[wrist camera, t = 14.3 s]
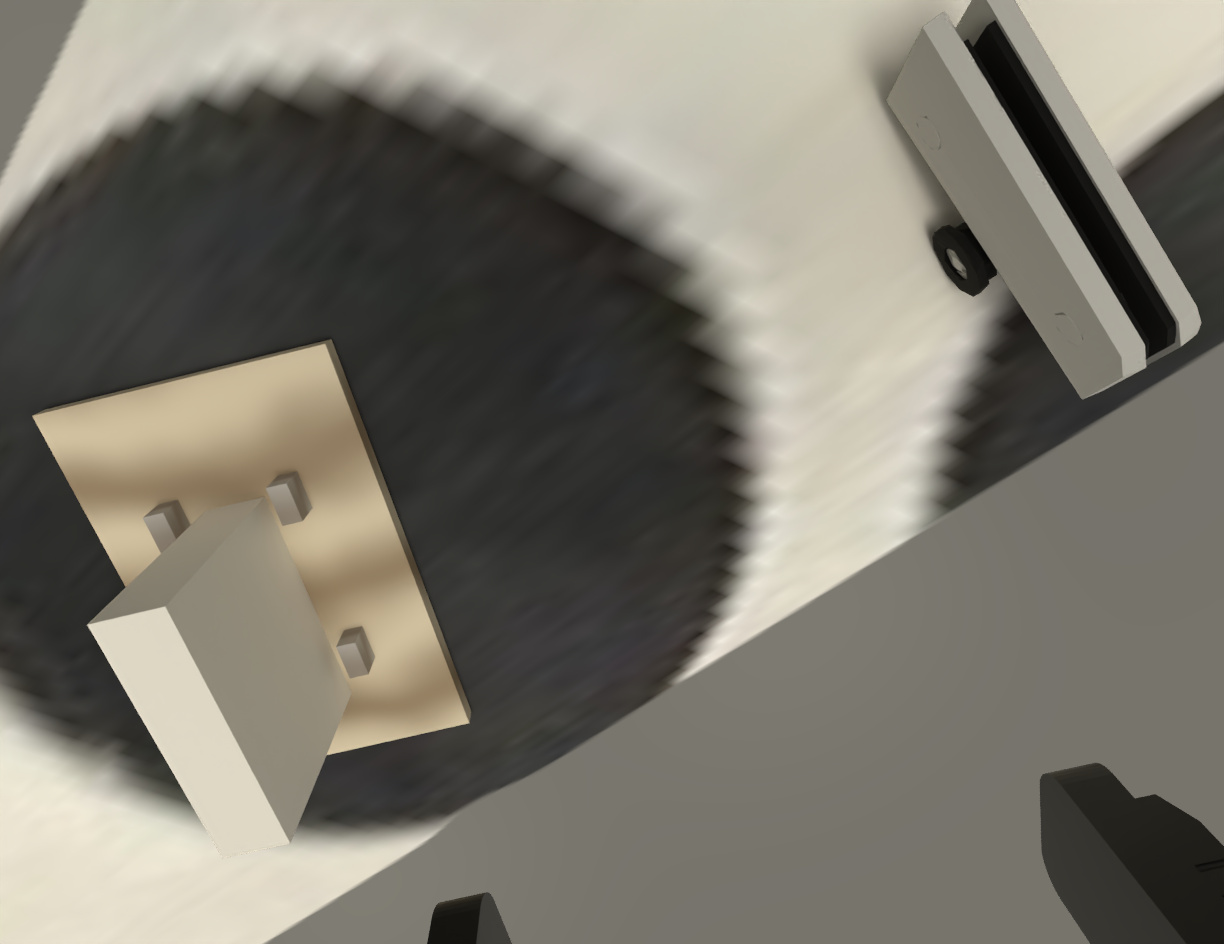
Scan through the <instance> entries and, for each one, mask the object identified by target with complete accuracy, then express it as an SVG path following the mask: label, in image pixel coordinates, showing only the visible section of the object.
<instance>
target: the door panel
mask: <svg viewBox="0 0 1224 944" xmlns="http://www.w3.org/2000/svg"><path fill="white" fill-rule="evenodd" d="M87 625H88V627H89V629H90V630H91V632H92V634H93V635H94V637H95V639H96V641H97V642H98V644H99V646H100V648H101V649H102V651H103V653H104V654H105V656H106V658H107V660H108V661H109V663H110V665H111V667H112V668H113V670H114V672H115V673H116V675H117V677H118V679H119V680H120V682H121V684H122V686H123V687H124V689H125V691H126V692H127V694H128V696H129V698H130V699H131V701H132V703H133V705H134V706H135V708H136V710H137V711H138V713H139V715H140V717H141V718H142V720H143V722H144V724H145V725H146V727H147V729H148V730H149V732H150V734H151V736H152V737H153V739H154V741H155V743H156V744H157V746H158V748H159V749H160V751H161V753H162V755H163V756H164V758H165V760H166V762H167V763H168V765H169V767H170V768H171V770H172V772H173V774H174V775H175V777H176V779H177V781H178V782H179V784H180V786H181V787H182V789H183V791H184V793H185V794H186V796H187V798H188V800H189V801H190V803H191V805H192V806H193V808H194V810H195V812H196V813H197V815H198V817H199V819H200V820H201V822H202V824H203V825H204V827H205V829H206V831H207V832H208V834H209V836H210V837H211V839H212V841H213V843H214V844H215V846H216V848H217V850H218V851H219V853H220V855H221V856H222V858H227V857H231V856H236V855H240V854H245V853H249V852H254V851H258V850H263V849H268V848H272V847H277V846H281V845H286V844H290V843H291V841H292V838H293V836H294V833H295V831H296V828H297V826H298V823H299V821H300V819H301V816H302V814H303V811H304V809H305V806H306V804H307V801H308V799H309V797H310V794H311V792H312V789H313V787H314V784H315V782H316V779H317V777H318V774H319V772H320V770H321V767H322V765H323V762H324V760H325V757H326V755H327V752H328V750H329V748H330V745H331V743H332V740H333V738H334V735H335V733H336V730H337V728H338V726H339V723H340V721H341V718H342V716H343V713H344V711H345V708H346V706H347V703H348V701H349V699H350V696H351V694H352V692H351V690H350V688H349V685H348V683H347V681H346V679H345V676H344V674H343V672H342V670H341V667H340V665H339V663H338V661H337V658H336V656H335V654H334V652H333V649H332V647H331V645H330V642H329V640H328V638H327V636H326V633H325V631H324V629H323V627H322V624H321V622H320V620H319V618H318V615H317V613H316V611H315V609H314V606H313V604H312V602H311V599H310V597H309V595H308V593H307V590H306V588H305V586H304V584H303V581H302V579H301V577H300V575H299V572H298V570H297V568H296V566H295V563H294V561H293V559H292V556H291V554H290V552H289V550H288V547H287V545H286V543H285V541H284V538H283V536H282V534H281V532H280V529H279V527H278V525H277V523H276V520H275V518H274V516H273V513H272V511H271V509H270V507H269V504H268V502H267V500H266V498H265V497H261V498H257V499H253V500H249V501H245V502H240V503H236V504H232V505H228V506H223V507H219V508H215V509H211V510H207V511H205V512H204V513H203V514H202V515H201V516H200V517H199V518H198V519H197V520H196V521H195V522H194V523H193V524H192V525H191V526H190V527H188V528H187V529H186V530H185V531H184V532H183V533H182V534H181V535H180V536H179V537H178V538H177V539H176V540H175V541H174V542H173V543H172V544H171V545H170V546H169V547H168V548H167V549H166V550H165V551H163V552H162V553H161V554H160V555H159V556H158V557H157V558H156V559H155V560H154V561H153V562H152V563H151V564H150V565H149V566H148V567H147V568H146V569H145V570H144V571H143V572H142V573H141V574H140V575H138V576H137V577H136V578H135V579H134V580H133V581H132V582H131V583H130V584H129V585H128V586H127V587H126V588H125V589H124V590H123V591H122V592H121V593H120V594H119V595H118V596H117V597H116V598H115V599H114V600H112V601H111V602H110V603H109V604H108V605H107V606H106V607H105V608H104V609H103V610H102V611H101V612H100V613H99V614H98V615H97V616H96V617H95V618H94V619H93V620H92V621H91V622H90V623H89V624H87Z"/></svg>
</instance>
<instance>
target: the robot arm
mask: <svg viewBox="0 0 1224 944" xmlns="http://www.w3.org/2000/svg"><path fill="white" fill-rule="evenodd" d="M1040 807H1041V843H1042V855H1043V859H1044V863H1045V866H1046V869H1047V872H1048V875H1049V877H1050V880H1051V882H1052V884H1053V886H1054V888H1055V890H1056V892H1057V894H1058V895H1059V897H1060V899H1061V900H1062V902H1063V903H1064V905H1065V906H1066V908H1067V909H1068V911H1069V912H1070V914H1071V915H1072V917H1073V918H1074V920H1075V921H1076V923H1077V924H1078V926H1079V927H1080V929H1081V930H1082V932H1083V933H1084V934H1085V936H1086V938H1087V939H1088V941H1089V942H1090V944H1224V846H1223V845H1222V844H1221V843H1220V842H1219V841H1218V840H1217V839H1216V838H1215V837H1214V836H1213V835H1212V834H1211V833H1210V832H1209V831H1208V829H1207V828H1205V826H1204V825H1203V824H1202V823H1201V822H1200V821H1198V820H1197V819H1195V818H1193V817H1192V816H1190V815H1189V814H1187V813H1185V812H1184V811H1182V810H1180V809H1179V808H1177V807H1175V806H1174V805H1172V804H1170V803H1169V802H1167V801H1165V800H1164V799H1162V798H1161V797H1159V796H1157V795H1150V796H1145V797H1140V798H1136V799H1135V798H1134V797H1133V796H1132V795H1131V794H1130V793H1129V792H1128V790H1126V788H1125V787H1124V786H1123V785H1122V784H1121V783H1120V781H1119V780H1118V779H1117V778H1116V777H1115V776H1114V775H1113V774H1112V773H1111V772H1110V771H1109V770H1108V769H1107V768H1106V767H1105V766H1103V765H1101V764H1099V763H1093V764H1088V765H1083V766H1079V767H1074V768H1069V769H1064V770H1060V771H1055V772H1051V773H1046V774H1043V775H1042V776H1041V779H1040ZM427 944H512V943H511V941H510V938H509V936H508V933H507V931H506V928H505V926H504V924H503V921H502V919H501V916H500V914H499V911H498V909H497V906H496V904H495V901H494V899H493V897H492V896H491V894H490V893H487V892H486V893H482V894H477V895H473V896H468V897H464V898H459V899H454V900H449V901H445V902H440V903H438V904H437V905H436V907H435V909H434V912H433V915H432V920H431V926H430V931H429V937H428V942H427Z"/></svg>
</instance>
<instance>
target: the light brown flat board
mask: <svg viewBox="0 0 1224 944" xmlns="http://www.w3.org/2000/svg"><path fill="white" fill-rule="evenodd" d="M33 418H34V420H35V422H36V424H37V426H38V427H39V429H40V431H41V433H42V435H43V437H44V438H45V440H46V442H47V444H48V446H49V447H50V449H51V451H52V453H53V455H54V457H55V458H56V460H57V462H58V464H59V466H60V468H61V469H62V471H63V473H64V475H65V477H66V479H67V480H68V482H69V484H70V486H71V488H72V490H73V491H74V493H75V495H76V497H77V499H78V500H79V502H80V504H81V506H82V508H83V510H84V511H85V513H86V515H87V517H88V519H89V521H90V522H91V524H92V526H93V528H94V530H95V532H96V533H97V535H98V537H99V539H100V541H101V543H102V544H103V546H104V548H105V550H106V552H107V553H108V555H109V557H110V559H111V561H112V563H113V564H114V566H115V568H116V570H117V572H118V574H119V575H120V577H121V579H122V581H123V583H124V585H125V586H126V587H127V586H128V585H129V584H130V583H131V582H132V581H133V580H134V579H135V578H136V577H137V576H138V575H140V574H141V573H142V572H143V571H144V570H145V569H146V568H147V567H148V566H149V565H150V564H151V563H152V562H153V561H154V560H155V559H156V558H157V557H158V556H159V555H160V554H161V553H162V552H163V551H165V550H166V549H167V548H168V547H169V546H170V545H171V544H172V543H173V542H174V541H175V540H176V539H177V538H178V537H179V536H180V535H181V534H182V533H183V532H184V531H185V530H186V529H187V528H188V527H190V526H191V525H192V524H193V523H194V522H195V521H196V520H197V519H198V518H199V517H200V516H201V515H202V514H203V513H204V512H205V511H207V510H211V509H215V508H219V507H223V506H228V505H232V504H236V503H240V502H245V501H249V500H253V499H257V498H261V497H265V498H266V500H267V502H268V504H269V507H270V509H271V511H272V513H273V516H274V518H275V520H276V523H277V525H278V527H279V529H280V532H281V534H282V536H283V538H284V541H285V543H286V545H287V547H288V550H289V552H290V554H291V556H292V559H293V561H294V563H295V566H296V568H297V570H298V572H299V575H300V577H301V579H302V581H303V584H304V586H305V588H306V590H307V593H308V595H309V597H310V599H311V602H312V604H313V606H314V609H315V611H316V613H317V615H318V618H319V620H320V622H321V624H322V627H323V629H324V631H325V633H326V636H327V638H328V640H329V642H330V645H331V647H332V649H333V652H334V654H335V656H336V658H337V661H338V663H339V665H340V667H341V670H342V672H343V674H344V676H345V679H346V681H347V683H348V685H349V688H350V690H351V692H352V694H351V696H350V699H349V701H348V703H347V706H346V708H345V711H344V713H343V716H342V718H341V721H340V723H339V726H338V728H337V730H336V733H335V735H334V738H333V740H332V743H331V745H330V748H329V750H328V752H327V755H330V754H334V753H338V752H343V751H347V750H352V749H356V748H361V747H365V746H369V745H374V744H378V743H383V742H387V741H392V740H396V739H401V738H405V737H409V736H414V735H418V734H423V733H427V732H432V731H436V730H440V729H445V728H449V727H454V726H458V725H463V724H467V723H469V721H470V716H471V709H470V706H469V704H468V701H467V698H466V696H465V693H464V690H463V688H462V685H461V682H460V680H459V677H458V674H457V672H456V669H455V667H454V664H453V661H452V659H451V656H450V653H449V651H448V648H447V645H446V643H445V640H444V637H443V635H442V632H441V629H440V627H439V624H438V621H437V619H436V616H435V613H434V611H433V608H432V605H431V603H430V600H429V597H428V595H427V592H426V589H425V587H424V584H423V581H422V579H421V576H420V573H419V571H418V568H417V565H416V563H415V560H414V557H413V555H412V552H411V549H410V547H409V544H408V541H407V539H406V536H405V533H404V531H403V528H402V526H401V523H400V520H399V518H398V515H397V512H396V510H395V507H394V504H393V502H392V499H391V496H390V494H389V491H388V488H387V486H386V483H385V480H384V478H383V475H382V472H381V470H380V467H379V464H378V462H377V459H376V456H375V454H374V451H373V448H372V446H371V443H370V440H369V438H368V435H367V432H366V430H365V427H364V424H363V422H362V419H361V416H360V414H359V411H358V408H357V406H356V403H355V400H354V398H353V395H352V392H351V390H350V387H349V385H348V382H347V379H346V377H345V374H344V371H343V369H342V366H341V363H340V361H339V358H338V355H337V353H336V350H335V347H334V345H333V342H332V339H330V340H326V341H322V342H318V343H314V344H310V345H306V346H302V347H297V348H293V349H289V350H285V351H281V352H277V353H273V354H269V355H265V356H261V357H257V358H253V359H249V360H245V361H241V362H236V363H232V364H228V365H224V366H220V367H216V368H212V369H208V370H204V371H200V372H196V373H192V374H188V375H184V376H180V377H176V378H171V379H167V380H163V381H159V382H155V383H151V384H147V385H143V386H139V387H135V388H131V389H127V390H123V391H119V392H115V393H111V394H106V395H102V396H98V397H94V398H90V399H86V400H82V401H78V402H74V403H70V404H66V405H62V406H58V407H54V408H50V409H46V410H44V411H41V412H39V413H37V414H35V415H33Z"/></svg>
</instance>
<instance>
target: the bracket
mask: <svg viewBox="0 0 1224 944" xmlns="http://www.w3.org/2000/svg"><path fill="white" fill-rule="evenodd" d="M886 101H887V103H888V104H889V106H890V108H891V109H892V111H893V112H894V114H895V115H896V117H897V118H898V120H899V121H900V123H901V124H902V126H903V127H904V129H905V130H906V132H907V133H908V135H909V136H910V138H911V140H912V141H913V143H914V144H915V146H916V147H917V149H918V150H919V152H920V153H921V155H922V156H923V158H924V159H925V161H926V162H927V164H928V165H929V167H930V168H931V170H932V172H933V173H934V175H935V176H936V178H937V179H938V181H939V182H940V184H941V185H942V187H943V188H944V190H945V191H946V193H947V194H948V196H949V197H950V199H951V200H952V202H953V203H954V205H955V207H956V208H957V210H958V211H959V213H960V214H961V216H962V217H963V219H964V220H965V222H966V223H965V222H964V223H962V224H960V225H959V226H957V227H955V228H954V227H952V226H951V225H947V226H942V227H941V228H940V229H939V230H937V231H936V232H935V233H934V236H933V246H934V250H935V252H936V254H937V256H938V258H939V260H940V262H941V264H942V266H943V268H944V270H945V272H946V274H947V275H948V276H949V278H950V279H951V280H952V281H953V282H954V283H955V285H956V286H957V287H958V288H959V289H960V290H962V291H964V292H966V293H967V294H969V295H971V296H973V297H974V296H975V295H977V294H979V293H981V292H982V291H983V290H984V289H985V288H986V287H987V286H988V284H989V279H991V278H992V277H994V276H996V275H997V271H998V272H999V274H1000V275H1001V277H1002V278H1003V280H1004V281H1005V283H1006V284H1007V286H1008V287H1009V289H1010V290H1011V292H1012V293H1013V295H1014V296H1015V298H1016V299H1017V301H1018V303H1019V304H1020V306H1021V307H1022V309H1023V310H1024V312H1025V313H1026V315H1027V316H1028V318H1029V319H1030V321H1031V322H1032V324H1033V325H1034V327H1035V328H1036V330H1037V331H1038V333H1039V335H1040V336H1041V338H1042V339H1043V341H1044V342H1045V344H1046V345H1047V347H1048V348H1049V350H1050V351H1051V353H1052V354H1053V356H1054V357H1055V359H1056V360H1057V362H1058V363H1059V365H1060V367H1061V368H1062V370H1063V371H1064V373H1065V374H1066V376H1067V377H1068V379H1069V380H1070V382H1071V383H1072V385H1073V386H1074V388H1075V389H1076V391H1077V392H1078V394H1079V395H1080V397H1081V399H1085V398H1087V397H1089V396H1092V395H1094V394H1096V393H1099V392H1101V391H1103V390H1105V389H1107V388H1109V387H1110V386H1112V385H1114V384H1116V383H1118V382H1120V381H1122V380H1124V379H1125V378H1127V377H1129V376H1131V375H1133V374H1135V373H1137V372H1139V371H1140V370H1142V369H1144V368H1146V365H1148V364H1150V363H1152V362H1154V361H1156V360H1157V359H1159V358H1161V357H1163V356H1165V355H1167V354H1168V353H1170V352H1172V351H1174V350H1176V349H1178V348H1179V347H1181V346H1182V345H1184V344H1185V343H1186V342H1187V341H1189V340H1190V339H1191V338H1193V337H1194V336H1195V335H1196V334H1197V333H1198V330H1199V327H1200V324H1201V320H1200V316H1199V313H1198V309H1197V306H1196V304H1195V303H1194V301H1193V299H1192V298H1191V296H1190V294H1189V293H1188V291H1187V289H1186V288H1185V286H1184V284H1183V282H1182V281H1181V279H1180V277H1179V276H1178V274H1177V272H1176V271H1175V269H1174V267H1173V266H1172V264H1171V262H1170V261H1169V259H1168V257H1167V256H1166V254H1165V252H1164V250H1163V249H1162V247H1161V245H1160V244H1159V242H1158V240H1157V239H1156V237H1155V235H1154V234H1153V232H1152V230H1151V229H1150V227H1149V225H1148V224H1147V222H1146V220H1145V219H1144V217H1143V215H1142V213H1141V212H1140V210H1139V208H1138V207H1137V205H1136V203H1135V202H1134V200H1133V198H1132V197H1131V195H1130V193H1129V192H1128V190H1127V188H1126V187H1125V185H1124V183H1123V181H1122V180H1121V178H1120V176H1119V175H1118V173H1117V171H1116V170H1115V168H1114V166H1113V165H1112V163H1111V161H1110V160H1109V158H1108V156H1107V155H1106V153H1105V151H1104V149H1103V148H1102V146H1101V144H1100V143H1099V141H1098V139H1097V138H1096V136H1095V134H1094V133H1093V131H1092V129H1091V128H1090V126H1089V124H1088V123H1087V121H1086V119H1085V118H1084V116H1083V114H1082V112H1081V111H1080V109H1079V107H1078V106H1077V104H1076V102H1075V101H1074V99H1073V97H1072V96H1071V94H1070V92H1069V91H1068V89H1067V87H1066V86H1065V84H1064V82H1063V80H1062V79H1061V77H1060V75H1059V74H1058V72H1057V70H1056V69H1055V67H1054V65H1053V64H1052V62H1051V60H1050V59H1049V57H1048V55H1047V54H1046V52H1045V50H1044V48H1043V47H1042V45H1041V43H1040V42H1039V40H1038V38H1037V37H1036V35H1035V33H1034V32H1033V30H1032V28H1031V27H1030V25H1029V23H1028V22H1027V20H1026V18H1025V17H1024V15H1023V13H1022V11H1021V10H1020V8H1019V6H1018V5H1017V3H1016V1H1015V0H972V1H971V3H970V5H969V6H968V8H967V10H966V11H965V13H964V15H963V17H962V18H961V20H960V22H959V24H958V25H957V27H956V29H955V27H954V26H953V24H952V22H951V21H950V19H949V17H948V16H947V14H946V12H945V11H944V12H942V13H941V14H940V15H938V16H937V17H935V18H934V19H933V20H931V21H930V22H929V23H927V24H926V25H925V26H923V27H922V29H921V31H920V33H919V35H918V37H917V39H916V41H915V43H914V45H913V48H912V50H911V52H910V54H909V56H908V58H907V60H906V62H905V64H904V66H903V68H902V70H901V72H900V74H899V76H898V78H897V80H896V82H895V84H894V86H893V88H892V90H891V92H890V94H889V96H888V98H887V100H886Z"/></svg>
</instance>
